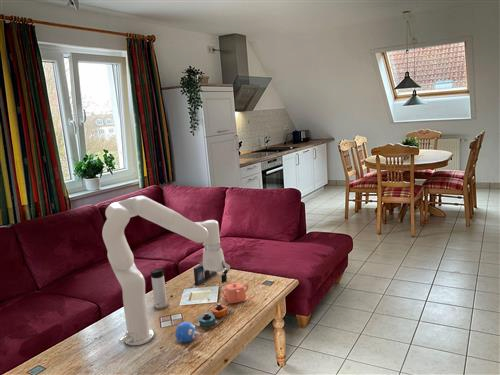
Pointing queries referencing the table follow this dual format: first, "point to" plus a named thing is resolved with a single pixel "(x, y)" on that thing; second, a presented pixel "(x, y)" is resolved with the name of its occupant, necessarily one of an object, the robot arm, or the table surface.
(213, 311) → the orange octagonal ring
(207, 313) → the stand
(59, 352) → the table surface
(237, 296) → the teapot
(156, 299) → the travel mug
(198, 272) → the vhs cassette tape
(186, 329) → the toy whale
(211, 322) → the teal faceted ring
